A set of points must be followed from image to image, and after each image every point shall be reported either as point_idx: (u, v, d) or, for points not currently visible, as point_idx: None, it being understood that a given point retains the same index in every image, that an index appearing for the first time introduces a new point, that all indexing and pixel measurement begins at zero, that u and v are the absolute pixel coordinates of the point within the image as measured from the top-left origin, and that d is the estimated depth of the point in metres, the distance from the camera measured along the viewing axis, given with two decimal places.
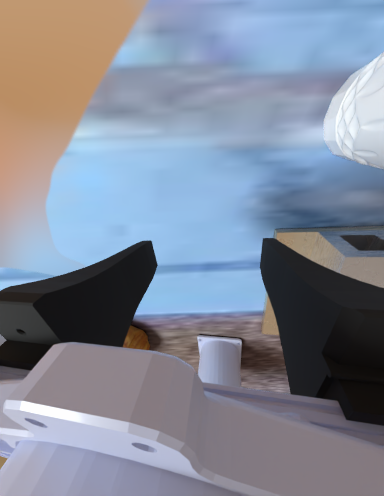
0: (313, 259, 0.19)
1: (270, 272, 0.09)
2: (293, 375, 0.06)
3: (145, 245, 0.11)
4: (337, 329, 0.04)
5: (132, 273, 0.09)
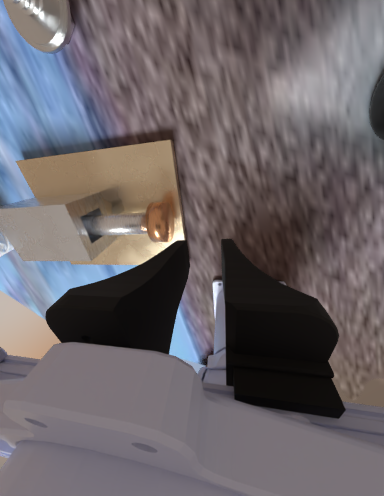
0: None
1: (223, 272, 0.09)
2: None
3: (183, 244, 0.10)
4: (227, 322, 0.04)
5: (174, 274, 0.09)
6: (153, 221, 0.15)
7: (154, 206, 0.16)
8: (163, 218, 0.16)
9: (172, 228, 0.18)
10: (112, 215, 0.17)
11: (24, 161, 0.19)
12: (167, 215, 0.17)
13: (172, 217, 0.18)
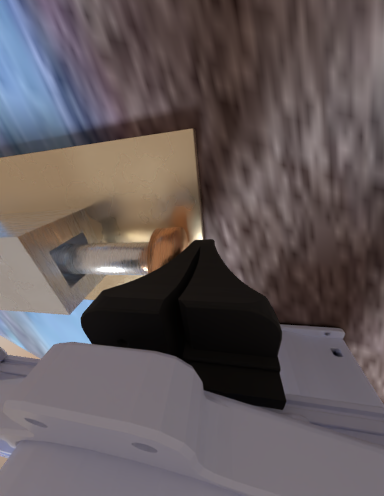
0: None
1: None
2: None
3: None
4: (183, 319, 0.05)
5: None
6: (160, 264, 0.09)
7: (161, 237, 0.10)
8: None
9: None
10: (96, 247, 0.11)
11: None
12: (181, 248, 0.11)
13: None
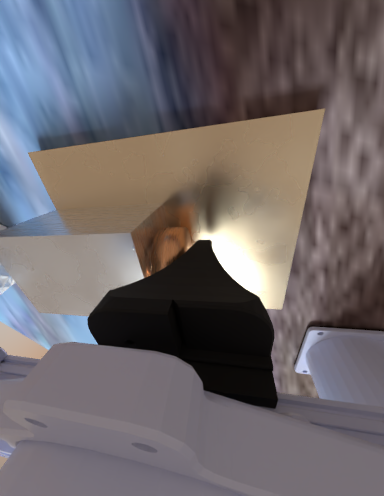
0: None
1: None
2: None
3: None
4: (176, 318, 0.05)
5: None
6: (164, 264, 0.09)
7: (165, 237, 0.10)
8: None
9: None
10: None
11: (42, 153, 0.12)
12: (185, 248, 0.11)
13: None
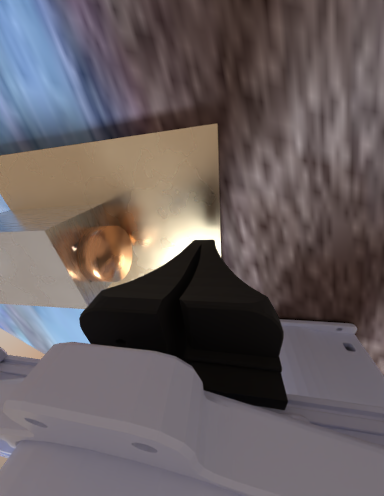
0: None
1: None
2: None
3: None
4: (184, 318, 0.04)
5: None
6: (87, 258, 0.11)
7: (90, 234, 0.11)
8: (103, 252, 0.11)
9: (127, 259, 0.14)
10: None
11: None
12: (115, 244, 0.12)
13: (127, 244, 0.14)
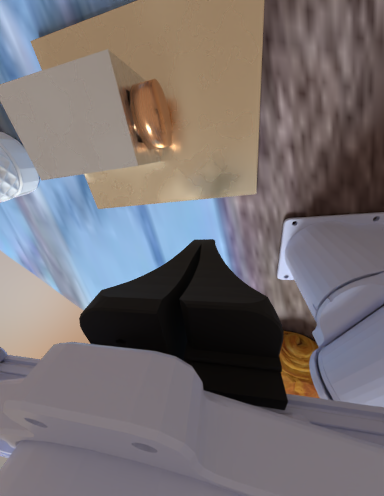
0: None
1: None
2: None
3: None
4: (184, 319, 0.04)
5: None
6: (140, 97, 0.11)
7: (141, 82, 0.12)
8: (154, 96, 0.11)
9: (169, 133, 0.14)
10: None
11: (42, 39, 0.14)
12: (161, 104, 0.13)
13: (168, 119, 0.14)
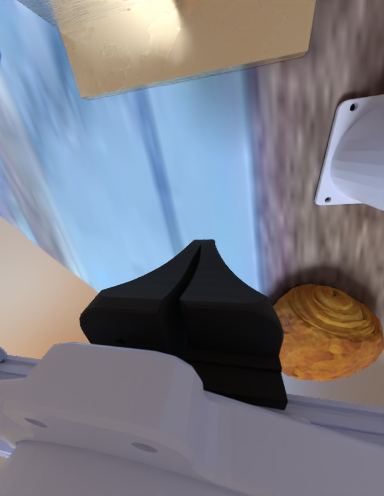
0: (87, 13, 0.12)
1: None
2: None
3: None
4: (184, 319, 0.04)
5: None
6: None
7: None
8: None
9: None
10: None
11: None
12: None
13: None
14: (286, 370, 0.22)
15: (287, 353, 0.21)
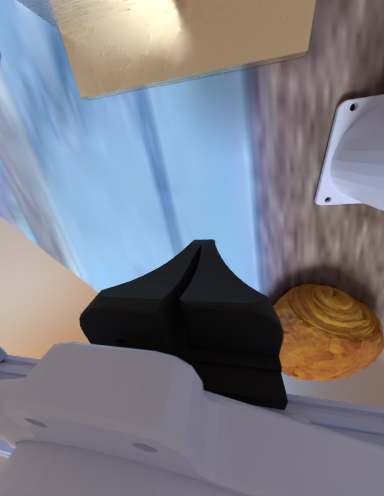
0: (87, 13, 0.12)
1: None
2: None
3: None
4: (184, 319, 0.04)
5: None
6: None
7: None
8: None
9: None
10: None
11: None
12: None
13: None
14: (286, 370, 0.22)
15: (287, 353, 0.21)
